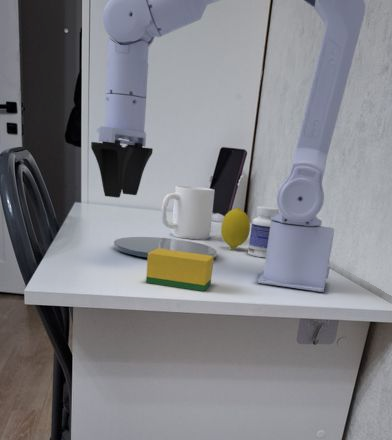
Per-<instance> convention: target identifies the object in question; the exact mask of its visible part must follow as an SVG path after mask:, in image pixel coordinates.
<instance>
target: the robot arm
mask: <svg viewBox="0 0 392 440" xmlns="http://www.w3.org/2000/svg"><path fill="white" fill-rule="evenodd" d="M219 1H220V0H109V1H108V2H107V3H106V5H105V6H104V9H103V13H102V22H103V27H104V30H105V32H106V33H107V35H108V36H109V37H108V38H107V58H106V77H105V78H106V79H105V107H104V110H105V111H104V125H99V126H98V127H96V132H97V133H98V142H97V141H96V142H95V141H91V143H90V148H91V151H92V153H93V155H94V157H95V159H96V163H97V165H98V169H99V172H100V178H101V183H102V189H103V194H104V196H105V197H109V198H118V199H119V198H120V197H121V194H122V195H123V194H124V195H130V196H137V194H138V192H139V189H140V185H141V181H142V178H143V174H144V170H145V168H146V166H147V163H148V162H149V160H150V158H151V157H152V155H153V148H152V147H146V141H147V132H145V129H146V128H145V125H146V109H147V108H146V107H147V91H148V76H149V75H148V74H149V48H150V47H151V45H152V44H153V42H154V40H155V38H161V37H163V36H165V35H169V34H170V33H172V32H175V31H177V30H179V29H182V28H184V27H187V26H188V25H191V24H193V23H195V22H198V21H200V20H201V19H202V17H203V15H204V13H205V11H206V9H207V7H208V5H211V4H214V3H217V2H219ZM303 1H304V2H306V3H307V4H308V5H310V6H311V7H313V9H314V10H315V12H316V14H317V16H318V17H319V18H320V20H321V22H322V23H323V24H324V31H323V36H322V40H321V43H320V48H319V52H318V56H317V60H316V65H315V68H314V73H313V76H312V81H311V85H310V89H309V93H308V98H307V102H306V105H305V110H304V114H303V118H302V121H301V126H300V130H299V135H298V138H297V143H296V145H295V151H294V155H293V158H292V163H291V167H290V170H289V174H288V176H287V177H286V178H285V179H284V181H283V182H282V183H281V185H280V187H279V188H278V191H277V193H276V194H277V195H276V205H277V208H278V209H279V213H278V214H276V215H274V216H272V218H271V219H272V220H271V225H270V232H269V239H268V246H267V253H266V258H265V261H264V266H263V267H264V268H263V270H262V272H261V274H260V276H259V278H258V279H257V283H258V284H264V285H271V286H279V287H286V288H291V289H299V290H306V291H313V292H320V293H324V291H325V286H326V281H327V280H328V279H329V274H330V266H329V265H330V259H331V253H332V248H333V242H334V235H335V228H334V227H330V226H323V225H322V223H323V222H322V221H323V220H321V219H320V218H318V217H317V216H318V214H319V213H320V212H321V210H322V208H323V205H324V203H325V192H324V188H323V180H324V179H323V178H324V174H325V172H326V171H325V169H326V165H327V159H328V155H329V151H330V146H331V143H332V139H333V135H334V132H335V128H336V124H337V121H338V116H339V112H340V108H341V105H342V101H343V97H344V94H345V89H346V87H347V82H348V79H349V75H350V72H351V67H352V64H353V59H354V56H355V52H356V49H357V44H358V41H359V36H360V32H361V29H362V25H363V21H364V17H365V14H366V2H365V0H303ZM123 145H125V146H123Z"/></svg>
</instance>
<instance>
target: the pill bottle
mask: <svg viewBox="0 0 392 440" xmlns="http://www.w3.org/2000/svg"><path fill="white" fill-rule="evenodd" d="M279 212H280V210H279V208H278V207H271V206H264V205H263V206H262V205H261V206H257V208H256V215H257V217H254V218H253V219H252V221H251V226H250V234H249V243H248V249H247V253H248V255H250V256H253V257H257V258H265V259H266V253H267V246H268V239H269V232H270V225H271V220H272V219H271V218H272V216H274V215H276V214H278V213H279Z"/></svg>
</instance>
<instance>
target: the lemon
mask: <svg viewBox="0 0 392 440" xmlns="http://www.w3.org/2000/svg"><path fill="white" fill-rule="evenodd" d="M250 232H251V222H250V218H249V216H248V215H247V213H246V212H245V211H243V210H241V208H240V207H235V208H234V209H232V210H229V211H228V212H227V213H226V214H225V215H224V217H223V219H222V222H221V227H220V235H221V238H222V240H223V241H224V243H225V244H227V245H228V246H229V247H230V250H231V249H232V250H235V249H237V247H239V246H241V245H243V244H244V243H245V242H246V241H247V240H248V239H249V236H250Z"/></svg>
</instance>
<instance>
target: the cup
mask: <svg viewBox="0 0 392 440" xmlns="http://www.w3.org/2000/svg"><path fill="white" fill-rule="evenodd" d="M174 188H175V189H174V192H170V193H167V194H166V195H165V196H164V197H163V201H162V204H161V209H160V210H161V211H160V215H161V216H160V217H161V222H162V224H163V225H164V226H165V227H166V228H168V229H171V234H172V236H174V237H176V238H180V239H187V240H195V241H196V240H197V241H201V240H203V241H204V240H208V239H209V238H210V235H211V229H212V218H213V212H214V211H213V210H214V200H215V189H213V188H209V187H208V188H207V187H202V186H201V187H200V186H191V185H175V186H174ZM170 200H173V211H172V222H170V221H169V220H168V218H167V210H168V205H169V202H170Z"/></svg>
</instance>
